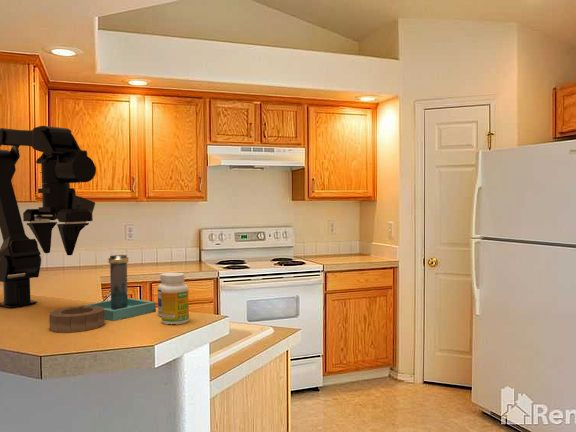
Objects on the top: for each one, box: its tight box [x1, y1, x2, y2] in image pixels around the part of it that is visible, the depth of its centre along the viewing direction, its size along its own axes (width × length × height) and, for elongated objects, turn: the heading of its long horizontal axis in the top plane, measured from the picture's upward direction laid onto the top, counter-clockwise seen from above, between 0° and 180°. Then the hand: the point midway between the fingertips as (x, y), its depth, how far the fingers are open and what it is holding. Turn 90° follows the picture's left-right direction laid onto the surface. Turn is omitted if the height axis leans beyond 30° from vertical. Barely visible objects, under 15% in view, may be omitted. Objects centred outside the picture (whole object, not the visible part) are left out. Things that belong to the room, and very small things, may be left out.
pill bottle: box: [157, 271, 175, 317], centre depth 113 cm, size 5×5×9 cm
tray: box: [81, 297, 157, 322], centre depth 115 cm, size 11×11×2 cm
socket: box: [48, 305, 106, 333], centre depth 104 cm, size 10×10×3 cm
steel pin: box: [107, 254, 129, 310], centre depth 115 cm, size 4×4×12 cm
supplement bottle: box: [161, 272, 190, 325], centre depth 106 cm, size 5×5×10 cm
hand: (58, 254), depth 116 cm, fingers open, 9 cm apart
